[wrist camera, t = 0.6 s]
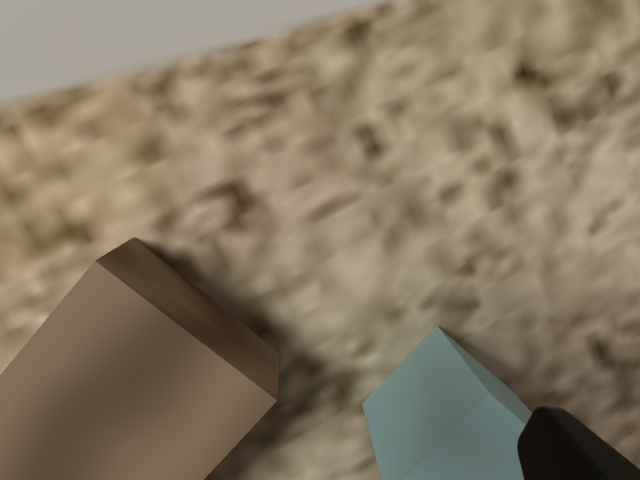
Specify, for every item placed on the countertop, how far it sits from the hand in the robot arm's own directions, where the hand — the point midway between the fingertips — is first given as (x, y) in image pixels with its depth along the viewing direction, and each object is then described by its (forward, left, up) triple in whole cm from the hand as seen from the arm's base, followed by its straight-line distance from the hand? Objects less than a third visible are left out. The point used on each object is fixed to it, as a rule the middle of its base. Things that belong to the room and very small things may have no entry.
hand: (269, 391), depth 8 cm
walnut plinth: (+1, +14, -13) cm, 19 cm away
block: (-10, +1, -13) cm, 17 cm away
